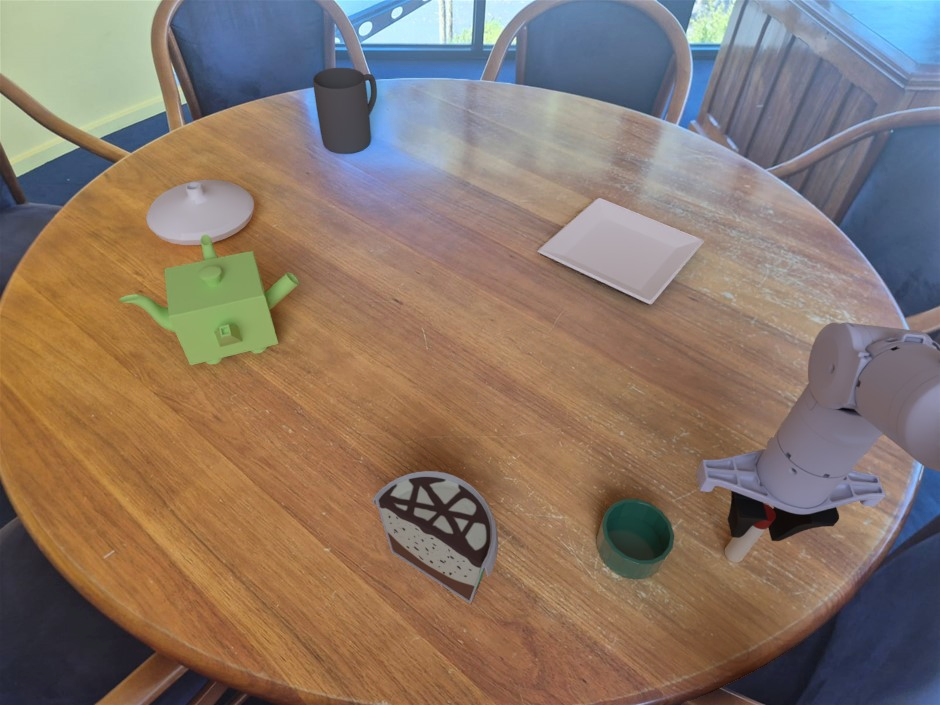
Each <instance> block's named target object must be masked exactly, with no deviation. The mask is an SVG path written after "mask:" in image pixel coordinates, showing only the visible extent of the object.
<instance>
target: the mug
mask: <svg viewBox="0 0 940 705" xmlns="http://www.w3.org/2000/svg"><path fill="white" fill-rule="evenodd" d="M367 81H368V82H369V86H370V87H369V88H370V97H368V91H367ZM312 82H313V84H312V85H313V92H314V98H315V99H314V100H315V107H316V112H317V119H318V125H319V131H320V137H321V141H322V144H323V146H324V148H325V149H326V150H328V151H330V152H332V153H336V154H341V155H347V154H355V153H359V152H361V151H364V150H366V149H367V148H368V147H369V146H370V145H371V141H372V134H371V120H370V115H371V113H372V112H373V110H374V107H375V105H376V103H377V102H376V101H377V99H378V86H377V80H376V78H375V76H374V75H373V74H371V73H366V74H364V73H363V72H362V71H360V70H358V69H355V68H351V67H333V68H332V67H331V68H326V69H323V70H321V71H318V72H317V73H316V74H315V75H314V76H313V78H312ZM368 99H369V100H368Z"/></svg>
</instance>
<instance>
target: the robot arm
mask: <svg viewBox="0 0 940 705" xmlns="http://www.w3.org/2000/svg"><path fill="white" fill-rule="evenodd" d="M807 365H808V366H807V381H808V383H807V385H806V386H805V388H804V389H803V391H802V392H801V394H800V395H799V397H798V399H797V400H796V401H795V403H794V404H793V406H792V407H791V409H790V410H789V412H788V413H787V415H786V417H785V418H784V420H783V421H782V422H781V424H780V426H779V428H778V429H777V430H776V432H775V434H774V435H773V436H772V437H770V438H769V439H768V440H767V443H766V447H765V448H763V449H759V450H755V451H751V452H746V453H742V454H741V453H740V454H737V455H732V456H729V457H724V458H719V459H718V458H717V459H702V460H701V461H700V464H699V465H698V467H697V468H696V471H695V473H696V479H697V484H698V488H699V489H698V490H699V491H700V492H705V493H711V492H712V491H713V490H714V488H716V487H719V488H723V489H726V490H729V491H730V507H729V511H728V515H727V523H728V528H729V532H730V533H729V534H730V536H731V537H732V538H733V537H735V538H740V537H742V536H744V534H745V533H746V532H747V531H748V530H749V529H750V528H751V527H752V526H753V525H754V524H756V523H758V522H760V521H764V520H768V517H767V514H766V510H765V506H764V504H767V505H769V506H771V507H772V508H773V510H774V511H775V514H776V518H775V520H774V521H773V522H772V524H771V525H770V526H769V527H768V528H767V529H768V532H769V536H770V540H771V542H781V541H784V540H786V539H788V538H790V537H793V536H794V535H796V534H799V533H801V532H804V531H807V530H812V529H817V528H823V527H834V526H835V525H836V524H837V522H839V520H840V514H839V511H838V507H841V506H846V505H850V504H854V503H858V502H860V505H862V506H864V507H870V508H875V507H876V506H877V505H878V504H879V503H880V502H881V501H882V500H883V499H885V497H886V496H887V494H886V492H885V489H884V487H883V485H882V483H881V480H880V477H879V475H878V474H874V473H867V472H862V471H859V470H855V467H856V466H857V464H858V463H859V462H860V461H861V460H862V458H864V456H865V455H866V454H867V453H868V452H869V451H870V450H871V448H872V447H873V446H874V445H875V444H876V443H877V441H878V440H879V439H880V438H882V436H883V435H884V436H886V437H887V438H888V439H889V440H891V442H893V443H894V444H895V445H896V446H898V447H899V448H900V449H901V450H903V451H904V452H905V453H906V454H907V455H909V456H910V457H911V458H912V459H914V461H916V462H917V463H919V464H920V465H922V466H923V467H925V468H926V469H929V470H932V471H934V472H938V473H940V344H939V343H938V342H937V341H935V340H934V339H932V338H931V336H930V335H929V334H927V333H926V332H924V331H922V330H914V329H907V328H898V327H897V328H896V327H889V326H888V327H887V326H878V325H870V324H861V323H854V322H853V323H852V322H842V323H841V322H840V323H839V322H830V323H827V324H826V325H825V326H823V327H822V329H820V330H819V332H818V334H817V335H816V337H815V339H814V340H813V343H812V346H811V349H810V353H809V358H808V364H807Z"/></svg>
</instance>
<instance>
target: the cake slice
mask: <svg viewBox="0 0 940 705" xmlns="http://www.w3.org/2000/svg"><path fill="white" fill-rule="evenodd" d="M375 504H376V507H377V510H378V513H379V517H380V520H381V523H382V527H383V530H384V533H385V536H386V537H385V538H386V540H387V543H388V547H389V549H390V550H389V551H390V553H391V554H393V555H394V556H396V557H398V558H399V559H401V560H402V561H403V562H405V563H407V564H408V565H410V566H411V567H413V568H414V569H416V570H418V571H419V572H420V573H422V574H424V575H425V576H427V577H428V578H429V579H431V580H433V581H434V582H436V583H437V584H439V585H441V586H442V587H443V588H445V589H447V590H448V591H450V592H451V593H453V594H454V595H456V596H458V597H459V598H460V599H461V600H463V601H465V602H467V603H468V604H469V605H471V604H472V603H473V601H474V599H475V597H476V595H477V593H478V589H479V587H480V584H481V581H482V578H483V575H484V572H485V575H486V577H488V578H489V577H490V575H491V573H492V571H493V570H494V567H495V564H496V561H497V557H498V552H499V533H498V528H497V524H496V521H495V517H494V515H493V512H492V509H491V508H490V506H489V503H488V502H487V501H486V499H485V498H484V497H483V496H482V494H481V493H480V492H479V491H478V490H477V489H476V488H474V487H473V486H472V485H471V484H469V483H468V482H467V481H465V480H464V479H462V478H460V477H457V476H455V475H452V474H449V473H446V472H441V471H435V470H433V471H432V470H431V471H430V470H424V471H416V472H412V473H408V474H404V475H402V476H399V477H397V478H395V479H393V480H392V481H390V482H388V483H387V484H386V485H384V486H383V487H382V488H380V489H379V490H378V491H377V493H376V494H375V495H374V496H373V497H372V502H371V505H373V506H374V505H375Z"/></svg>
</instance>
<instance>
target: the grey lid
mask: <svg viewBox="0 0 940 705" xmlns="http://www.w3.org/2000/svg"><path fill="white" fill-rule="evenodd" d="M254 208H255V203H254V197H253V196H252V195H251V193H250V192H249V191H248V190H246V189H245V188H243V187H242V186H240V185H238V184H236V183H234V182H230V181H228V180H222V179H221V180H220V179H200V180H194V181H189V182H186V183H182V184H179V185H176V186H173V187H171V188H169V189H167V190H166V191H164V192H163V193H161V194H160V195H158V196H157V197H156V198H155V199H154V200H153V201H152V203H151V205H150V207H149V209H148V211H147V212H146V219H145V221H146V224H147V226H148V228H149V229H150V230H151V232H153V234H154V235H156V237H158V238H159V239H161V240H162V241H165V242H168V243H170V244H174V245H180V246H201V237H202V236H203V235H208V236H209V237H210V238H211V241H212V244H214V243H216V242H219V241H222V240H226V239H227V238H230V237H232V236H233V235H236V234H237V233H239V232H240V231H241V230H243V229H244V228H245V227H246V226H247V225H248V224H249V222H250V221H251V220H252V218H253V214H254V210H255V209H254Z"/></svg>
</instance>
